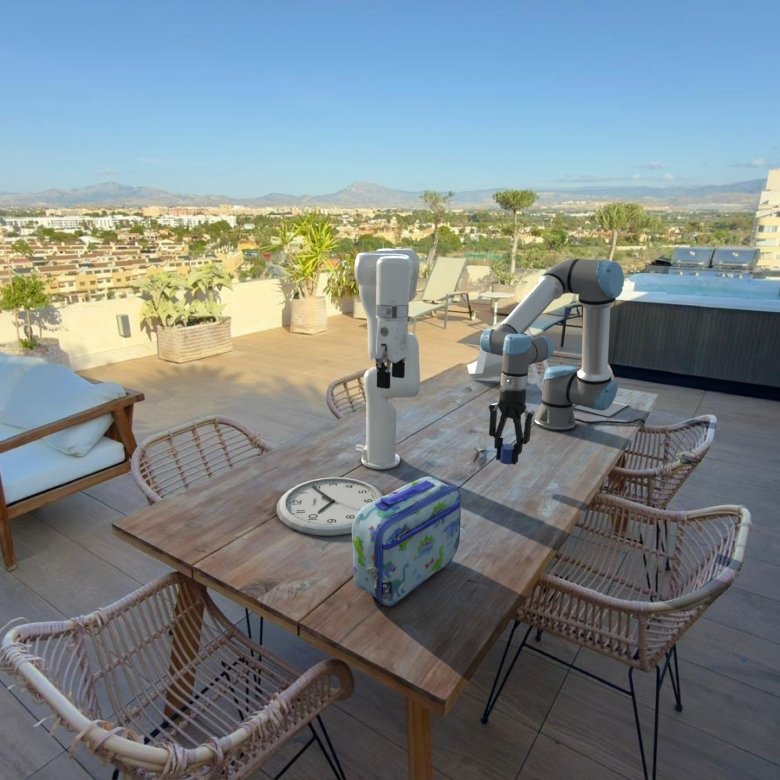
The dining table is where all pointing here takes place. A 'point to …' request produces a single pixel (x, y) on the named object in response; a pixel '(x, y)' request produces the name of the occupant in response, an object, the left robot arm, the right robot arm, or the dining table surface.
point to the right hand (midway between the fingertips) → (506, 460)
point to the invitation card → (608, 412)
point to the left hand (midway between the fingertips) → (391, 382)
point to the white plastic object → (496, 366)
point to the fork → (479, 450)
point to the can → (506, 453)
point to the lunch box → (405, 538)
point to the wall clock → (325, 505)
